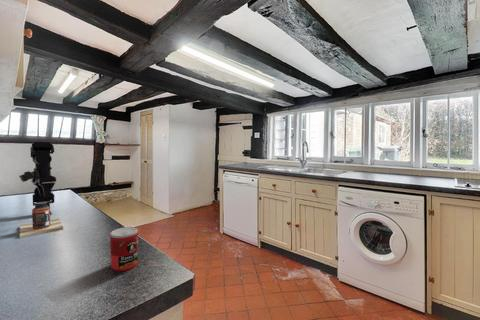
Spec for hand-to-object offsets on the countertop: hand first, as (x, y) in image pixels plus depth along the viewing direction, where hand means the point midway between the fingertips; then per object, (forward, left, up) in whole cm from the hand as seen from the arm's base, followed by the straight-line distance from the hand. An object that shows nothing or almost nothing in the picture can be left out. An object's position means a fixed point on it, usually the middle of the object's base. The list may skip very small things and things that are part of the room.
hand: (44, 196), depth 110 cm
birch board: (+11, -2, -13) cm, 17 cm away
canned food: (+73, +15, -13) cm, 76 cm away
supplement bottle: (+14, -2, -12) cm, 18 cm away
